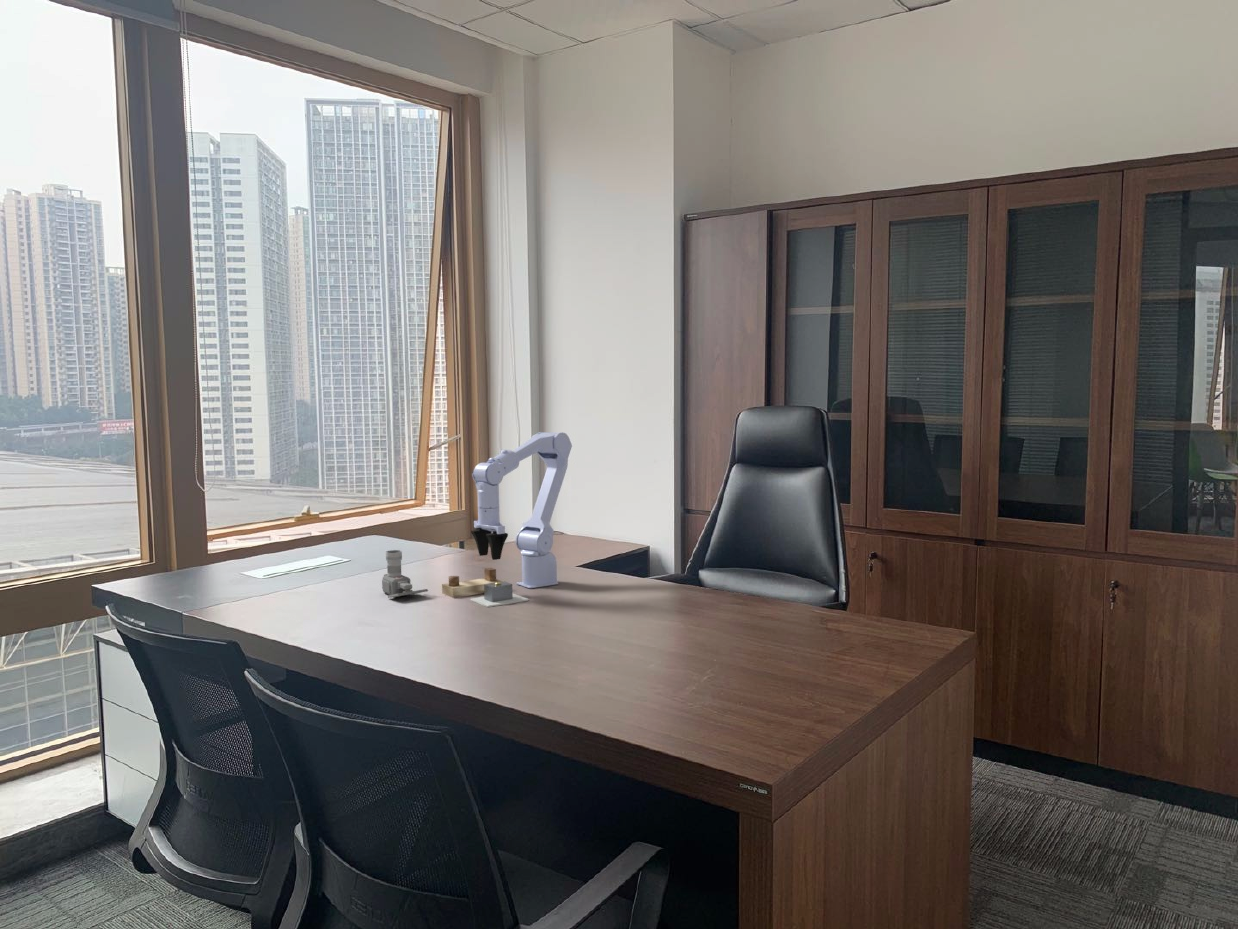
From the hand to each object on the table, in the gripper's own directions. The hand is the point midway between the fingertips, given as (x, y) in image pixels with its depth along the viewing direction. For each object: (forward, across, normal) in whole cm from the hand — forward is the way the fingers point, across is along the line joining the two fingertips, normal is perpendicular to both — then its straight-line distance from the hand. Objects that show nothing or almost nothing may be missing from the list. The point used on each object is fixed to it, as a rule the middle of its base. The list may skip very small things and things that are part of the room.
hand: (489, 557), depth 252 cm
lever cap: (+10, +7, -1) cm, 12 cm away
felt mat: (+10, +7, -1) cm, 13 cm away
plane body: (+10, -7, -2) cm, 13 cm away
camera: (+11, -14, -20) cm, 27 cm away
